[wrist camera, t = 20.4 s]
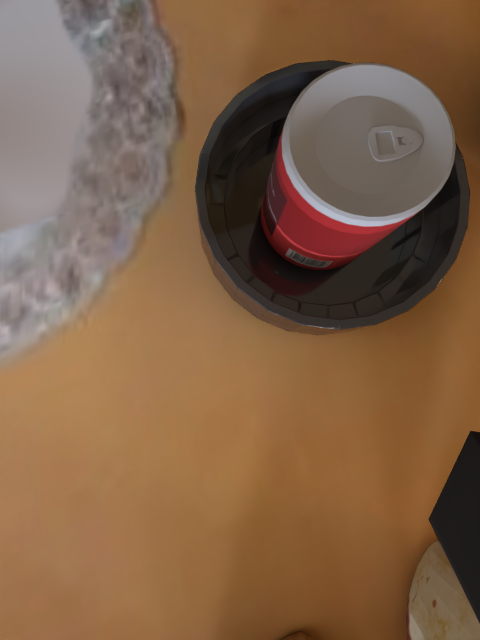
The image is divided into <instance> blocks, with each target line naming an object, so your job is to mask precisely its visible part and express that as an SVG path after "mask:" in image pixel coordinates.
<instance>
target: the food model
mask: <svg viewBox="0 0 480 640" xmlns="http://www.w3.org/2000/svg"><path fill="white" fill-rule="evenodd" d="M406 621H407V639H408V640H480V623H479V621H478V619H477V617H476V615H475V613H474V611H473V609H472V607H471V605H470V603H469V601H468V599H467V597H466V595H465V593H464V591H463V589H462V587H461V585H460V583H459V581H458V578H457V576H456V574H455V572H454V570H453V568H452V566H451V564H450V562H449V560H448V558H447V556H446V554H445V552H444V550H443V548H442V546H441V544H440V542H439V541H435V542H434V543H432V544H431V545H430V546H429V547H428V549H427V550H426V552H425V553H424V555H423V557H422V559H421V560H420V562H419V564H418V566H417V569H416V572H415V575H414V578H413V581H412V585H411V589H410V592H409V596H408V604H407V620H406Z"/></svg>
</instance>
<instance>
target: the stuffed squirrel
mask: <svg viewBox="0 0 480 640" xmlns="http://www.w3.org/2000/svg"><path fill="white" fill-rule="evenodd" d="M282 640H312V639H311V638H310V637H309V636H308V635H306V634H304V633H302V632H298V633H295V634H292V635H290V636H287V637H285V638H283V639H282Z"/></svg>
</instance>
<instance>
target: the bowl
mask: <svg viewBox="0 0 480 640" xmlns="http://www.w3.org/2000/svg"><path fill="white" fill-rule="evenodd" d="M349 64H353V63H346V62H340V61H333V60H332V61H331V60H328V61H317V62H307V63H297V64H293V65H291V66H288V67H285V68H282V69H280V70H277V71H274V72H271V73H269V74H266V75H264V76H262V77H261V78H260V79H258V80H257V81H255V82H254V83H252V84H251V85H250V86H248V87H247V88H245V89H244V90H242V91H241V92H240V93H238V94H237V95H236V96H235V97H234V98H233V99H232V100H231V102H230V103H229V104H228V105H227V107H226V108H225V109H224V110H223V111H222V113H221V114H220V115H219V116H218V117H217V119H216V120H215V121H214V123H213V125H212V127H211V130H210V132H209V134H208V136H207V139H206V141H205V143H204V145H203V148H202V150H201V152H200V156H199V163H198V170H197V177H196V185H195V194H196V203H197V212H198V220H199V228H200V235H201V243H202V248H203V250H204V252H205V255H206V257H207V260H208V262H209V264H210V267H211V269H212V271H213V274H214V275H215V277H216V278H217V280H218V281H219V282H220V283H221V285H222V286H223V287H224V289H225V290H226V291H227V292H228V294H229V295H230V296H231V298H232V299H233V300H234V301H235V302H237V303H238V304H239V305H241V306H242V307H243V308H244V309H246V310H247V311H248V312H250V313H251V314H252V315H254V316H255V317H256V318H258V319H260V320H262V321H264V322H267V323H269V324H271V325H274V326H276V327H279V328H281V329H284V330H286V331H289V332H297V333H305V334H312V335H326V334H333V333H340V332H348V331H352V330H356V329H360V328H364V327H368V326H372V325H376V324H379V323H381V322H383V321H386V320H388V319H390V318H393V317H395V316H397V315H400V314H402V313H404V312H407V311H408V310H410V309H411V308H412V307H414V306H415V305H416V304H417V303H419V302H420V301H421V300H422V299H423V298H425V297H426V296H427V295H428V294H430V293H431V292H432V291H433V290H435V288H436V287H437V286H438V285H439V283H440V282H441V280H442V279H443V277H444V276H445V275H446V273H447V272H448V270H449V269H450V268H451V266H452V265H453V263H454V262H455V260H456V258H457V255H458V252H459V249H460V247H461V244H462V241H463V238H464V235H465V233H466V230H467V227H468V214H469V201H470V190H469V185H468V180H467V174H466V169H465V164H464V159H463V157H462V155H461V152H460V150H459V148H458V146H457V144H456V142H455V144H456V148H455V157H454V163H453V166H452V169H451V172H450V175H449V177H448V179H447V180H446V182H445V184H444V185H443V187H442V189H441V190H440V191H439V192H438V193H437V194H436V196H435V197H434V198H433V199H432V200H431V201H430V202H429V203H428V204H427V205H426V206H425V207H424V208H423V209H422V210H420V211H419V212H418V213H417V214H416V215H414V216H413V217H412V218H410V219H409V220H407V221H406V222H405V223H403V224H402V225H401V226H399V227H398V228H397V229H395V230H394V231H393V232H391V233H390V234H388V235H387V236H386V237H384V238H383V239H382V240H380V241H379V242H378V243H376V244H375V245H373V246H372V247H371V248H369V249H368V250H367V251H365V252H364V253H363V254H361V255H360V256H358V257H357V258H356V259H354V260H353V261H351V262H350V263H348V264H345V265H343V266H341V267H338V268H333V269H329V270H313V269H306V268H303V267H300V266H297V265H294V264H293V263H291V262H289V261H287V260H286V259H284V258H283V257H282V256H281V255H280V254H278V253H277V252H276V251H275V250H274V248H273V247H272V246H271V244H270V243H269V242H268V240H267V237H266V235H265V233H264V231H263V227H262V223H261V206H262V200H263V197H264V193H265V190H266V186H267V182H268V179H269V175H270V172H271V168H272V164H273V161H274V157H275V154H276V150H277V146H278V143H279V139H280V136H281V134H282V130H283V127H284V124H285V121H286V119H287V116H288V114H289V111H290V110H291V108H292V106H293V104H294V102H295V101H296V99H297V98H298V96H299V95H300V93H301V92H302V91H303V90H304V89H305V88H306V87H307V86H308V85H309V84H310V83H311V82H312V81H313V80H315V79H316V78H318V77H319V76H321V75H322V74H324V73H326V72H328V71H330V70H333V69H335V68H338V67H340V66H344V65H349Z"/></svg>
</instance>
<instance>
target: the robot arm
mask: <svg viewBox="0 0 480 640" xmlns="http://www.w3.org/2000/svg"><path fill="white" fill-rule="evenodd" d="M429 521H430V523H431V525H432V527H433V529H434V531H435V534H436V536H437V538H438V540H439V542H440V544H441V546H442V548H443V550H444V552H445V554H446V556H447V558H448V560H449V562H450V564H451V566H452V568H453V570H454V572H455V574H456V576H457V578H458V581H459V583H460V585H461V587H462V589H463V591H464V593H465V595H466V597H467V599H468V601H469V603H470V605H471V607H472V609H473V611H474V613H475V615H476V617H477V619H478V621H479V623H480V432H474V431H470V433H469V435H468V437H467V439H466V441H465V444H464V446H463V448H462V450H461V452H460V454H459V456H458V458H457V460H456V463H455V465H454V467H453V469H452V471H451V473H450V475H449V477H448V479H447V482H446V484H445V486H444V488H443V490H442V492H441V494H440V496H439V498H438V501H437V503H436V505H435V507H434V509H433V511H432V513H431V515H430V517H429Z"/></svg>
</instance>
